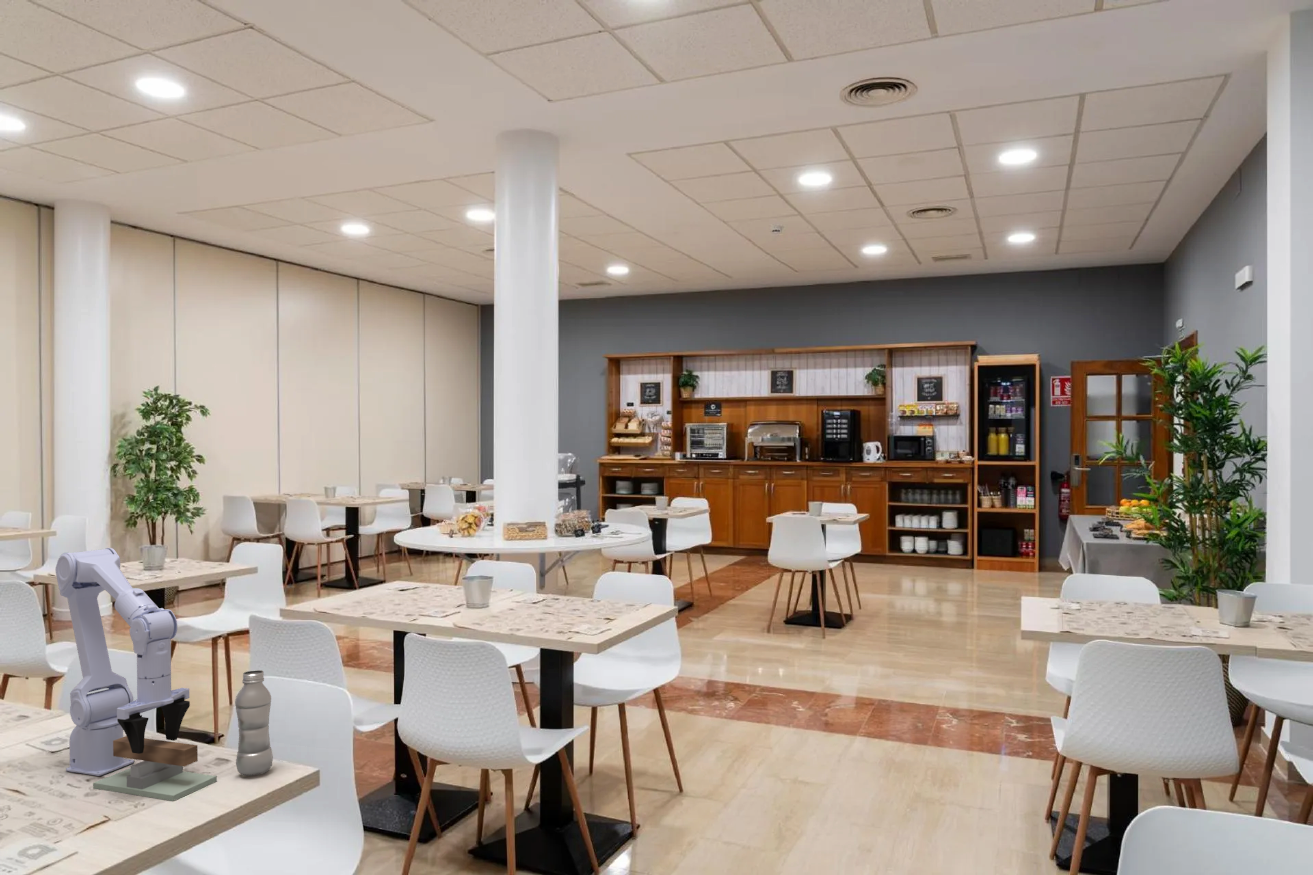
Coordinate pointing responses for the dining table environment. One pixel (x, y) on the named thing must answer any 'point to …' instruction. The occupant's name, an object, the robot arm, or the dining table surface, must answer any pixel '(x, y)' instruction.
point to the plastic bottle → (253, 725)
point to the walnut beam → (158, 751)
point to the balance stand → (155, 781)
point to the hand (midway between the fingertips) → (155, 745)
